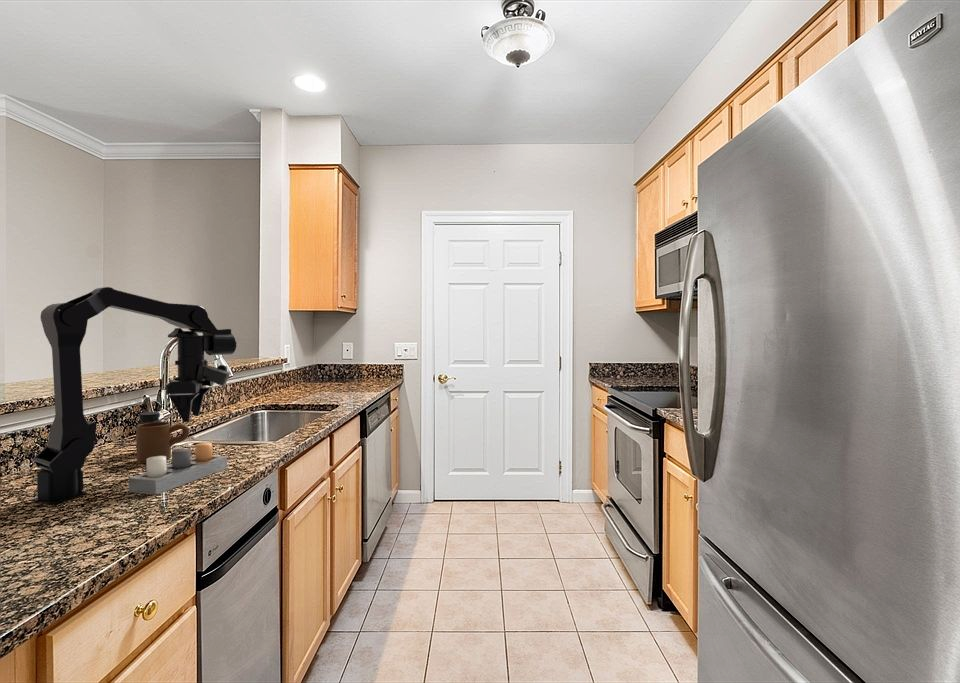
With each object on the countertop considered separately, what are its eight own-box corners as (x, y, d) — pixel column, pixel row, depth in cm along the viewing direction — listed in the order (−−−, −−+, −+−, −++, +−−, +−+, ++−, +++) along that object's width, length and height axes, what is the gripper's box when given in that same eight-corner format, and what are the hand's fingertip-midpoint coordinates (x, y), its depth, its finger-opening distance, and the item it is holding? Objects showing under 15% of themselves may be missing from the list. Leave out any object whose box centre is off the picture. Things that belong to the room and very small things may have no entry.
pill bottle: (131, 454, 136) (130, 414, 136) (152, 448, 142) (151, 410, 142) (148, 455, 134) (147, 415, 134) (168, 450, 140) (167, 411, 140)
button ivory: (156, 481, 104) (155, 460, 104) (142, 479, 105) (142, 459, 105) (170, 476, 108) (170, 456, 108) (157, 475, 109) (157, 455, 109)
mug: (192, 453, 137) (191, 419, 136) (187, 460, 130) (186, 424, 129) (140, 457, 132) (140, 422, 132) (133, 465, 125) (132, 428, 125)
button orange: (204, 464, 117) (204, 446, 117) (191, 463, 118) (191, 445, 118) (216, 460, 121) (215, 443, 120) (203, 460, 121) (203, 442, 121)
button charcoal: (181, 472, 111) (181, 453, 111) (168, 471, 112) (168, 452, 112) (194, 468, 114) (194, 449, 114) (181, 467, 115) (181, 448, 115)
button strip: (155, 494, 102) (155, 480, 102) (129, 492, 104) (128, 478, 104) (227, 468, 122) (227, 456, 122) (203, 466, 124) (203, 454, 123)
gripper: (218, 357, 116) (219, 423, 116) (234, 354, 133) (234, 411, 134) (164, 358, 112) (165, 426, 113) (187, 354, 130) (188, 413, 131)
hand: (191, 418), depth 122 cm, fingers open, 9 cm apart
